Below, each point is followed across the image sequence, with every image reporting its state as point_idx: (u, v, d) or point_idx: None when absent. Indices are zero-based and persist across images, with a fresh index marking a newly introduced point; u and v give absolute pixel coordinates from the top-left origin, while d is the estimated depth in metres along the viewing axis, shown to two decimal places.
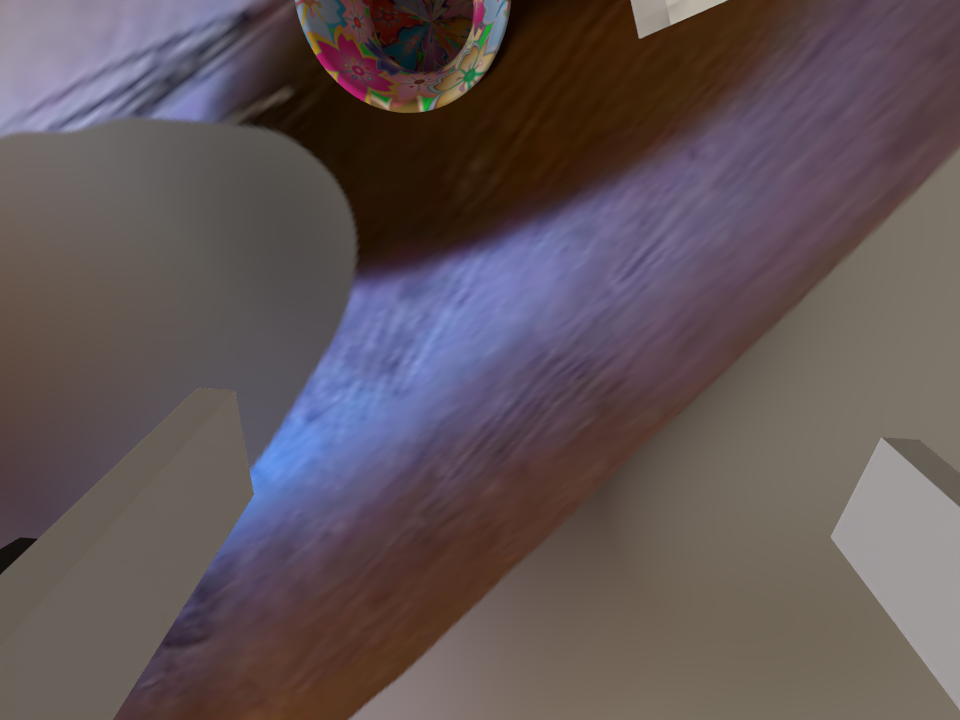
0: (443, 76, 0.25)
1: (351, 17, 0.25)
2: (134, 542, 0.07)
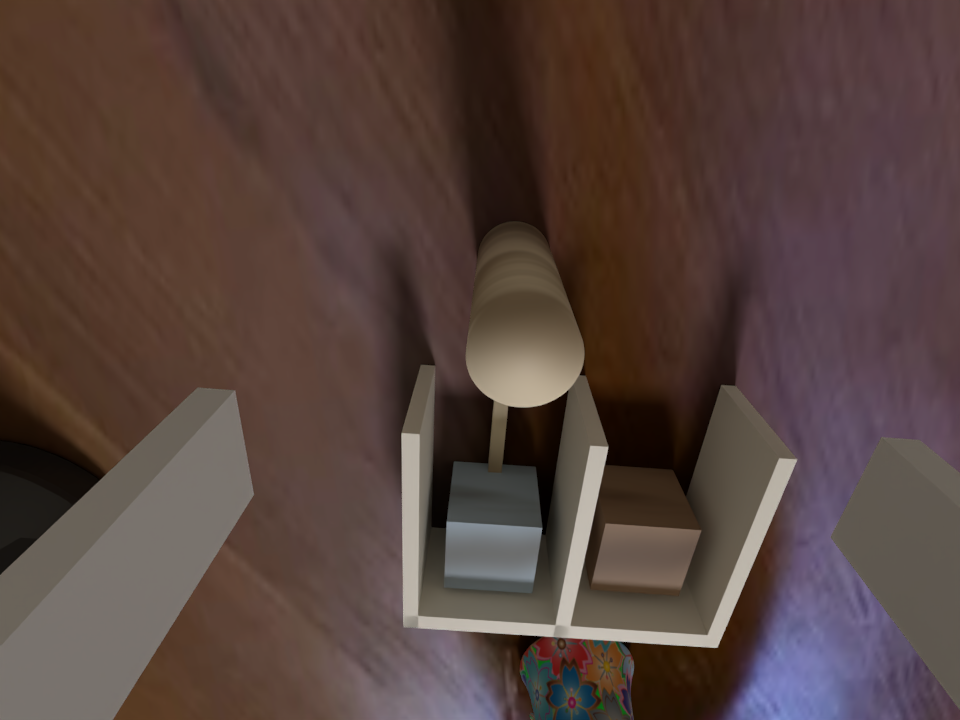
0: None
1: None
2: (134, 541, 0.07)
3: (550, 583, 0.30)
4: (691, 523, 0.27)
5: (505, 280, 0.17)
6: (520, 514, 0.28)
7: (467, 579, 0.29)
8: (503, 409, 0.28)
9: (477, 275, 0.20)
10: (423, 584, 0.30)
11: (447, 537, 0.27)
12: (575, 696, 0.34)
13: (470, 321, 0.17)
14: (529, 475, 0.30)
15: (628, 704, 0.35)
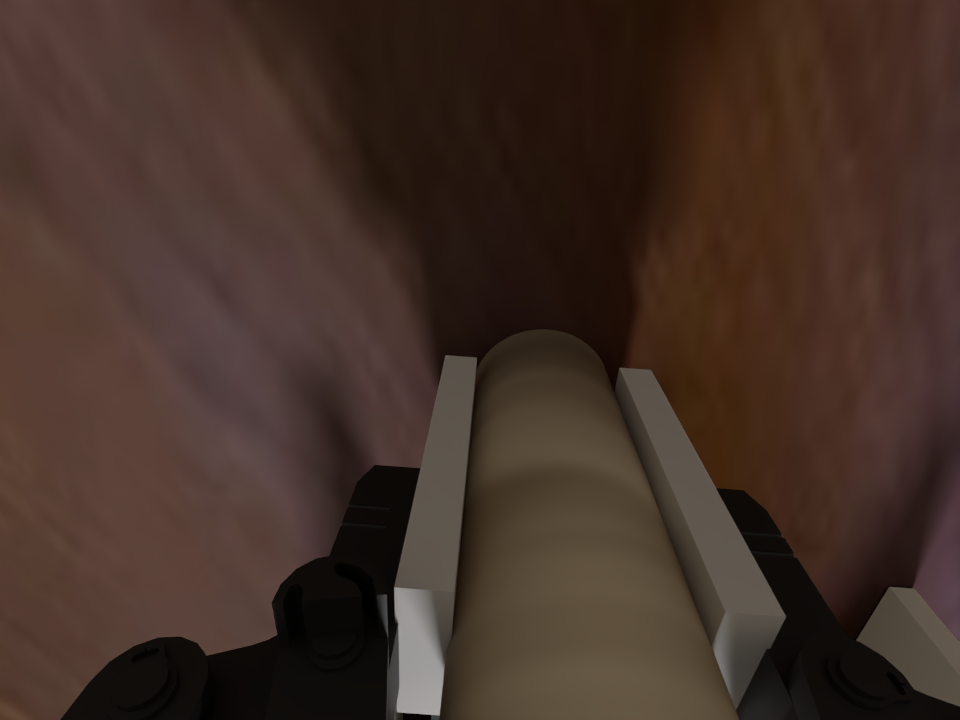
0: None
1: None
2: None
3: None
4: None
5: (547, 683, 0.05)
6: None
7: None
8: None
9: (466, 508, 0.09)
10: None
11: None
12: None
13: None
14: None
15: None
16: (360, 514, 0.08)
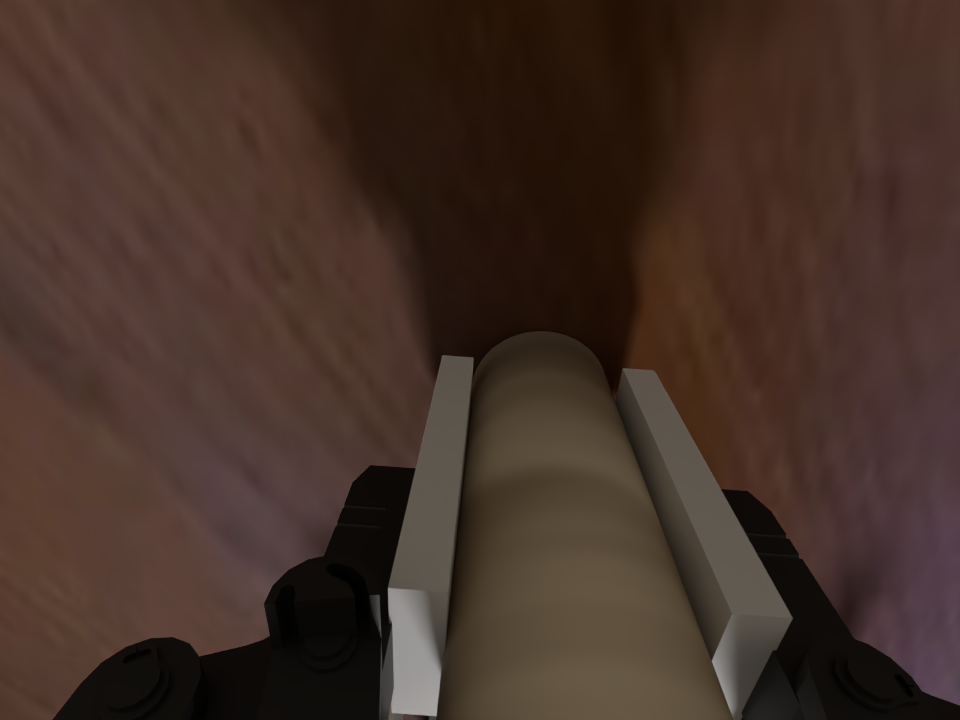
0: None
1: None
2: None
3: None
4: None
5: (543, 685, 0.05)
6: None
7: None
8: None
9: (464, 510, 0.09)
10: None
11: None
12: None
13: None
14: None
15: None
16: (355, 514, 0.08)
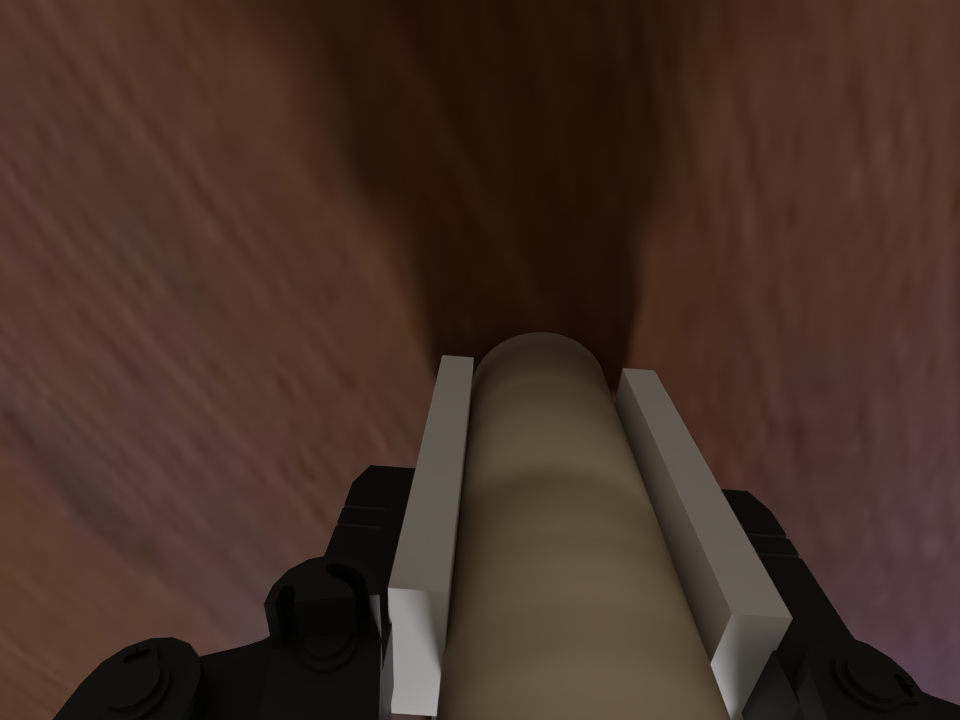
0: None
1: None
2: None
3: None
4: None
5: (541, 686, 0.05)
6: None
7: None
8: None
9: (464, 511, 0.09)
10: None
11: None
12: None
13: None
14: None
15: None
16: (355, 514, 0.08)
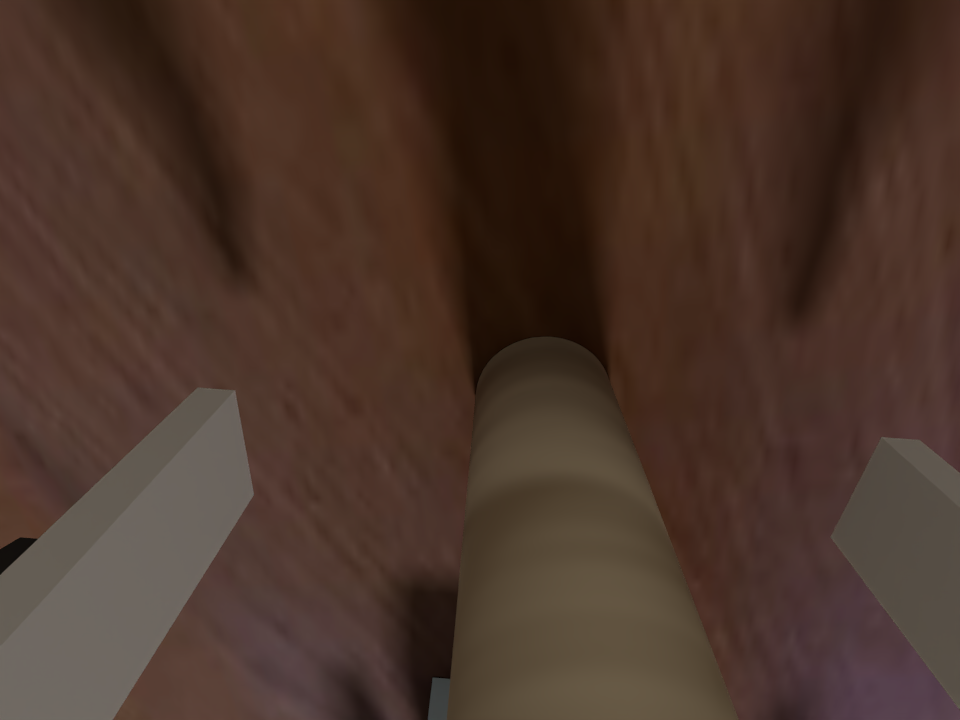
0: None
1: None
2: (134, 542, 0.07)
3: None
4: None
5: (557, 697, 0.05)
6: None
7: None
8: None
9: (472, 516, 0.09)
10: None
11: None
12: None
13: None
14: None
15: None
16: None
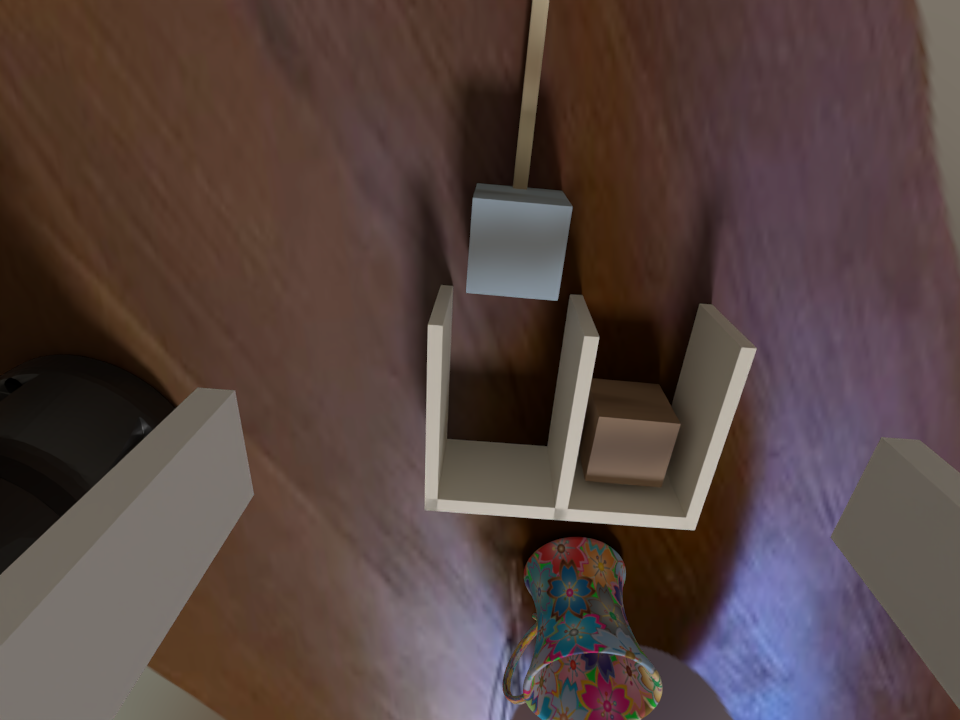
0: (637, 665, 0.36)
1: (571, 672, 0.39)
2: (134, 542, 0.07)
3: (551, 479, 0.35)
4: (672, 419, 0.32)
5: None
6: (549, 201, 0.26)
7: (491, 281, 0.28)
8: (532, 102, 0.27)
9: None
10: (441, 477, 0.34)
11: (472, 220, 0.26)
12: (572, 588, 0.38)
13: None
14: (556, 192, 0.29)
15: (619, 598, 0.39)
16: None
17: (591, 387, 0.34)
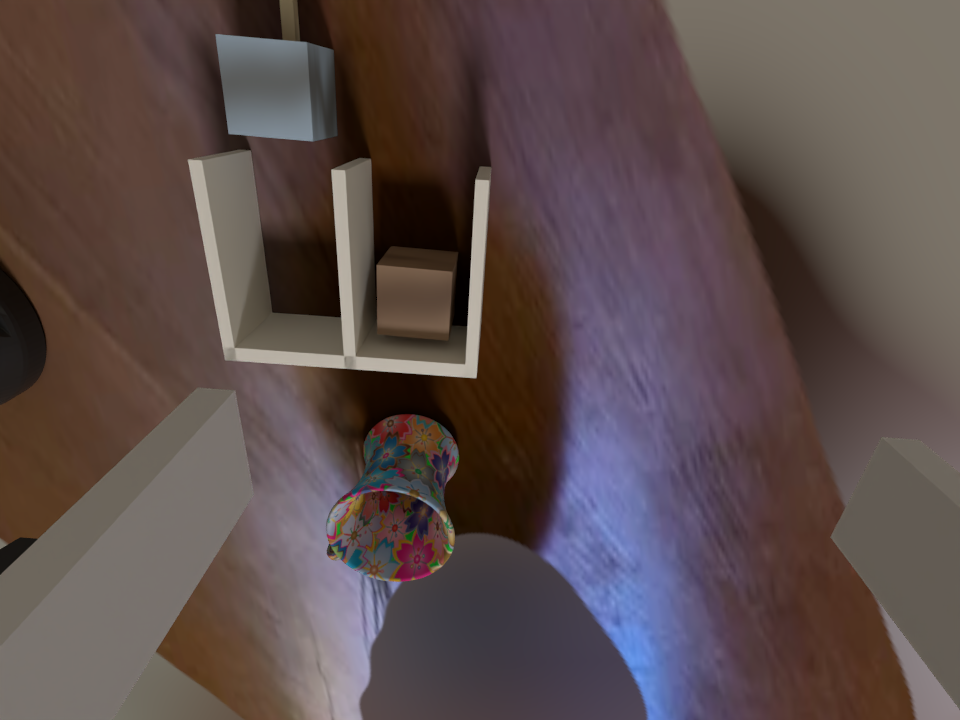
0: (440, 518, 0.39)
1: (391, 533, 0.41)
2: (134, 542, 0.07)
3: None
4: (447, 269, 0.34)
5: None
6: None
7: (249, 121, 0.30)
8: None
9: None
10: (247, 335, 0.37)
11: (219, 58, 0.28)
12: (389, 452, 0.41)
13: None
14: None
15: (438, 464, 0.42)
16: None
17: (388, 250, 0.37)
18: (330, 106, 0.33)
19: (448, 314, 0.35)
